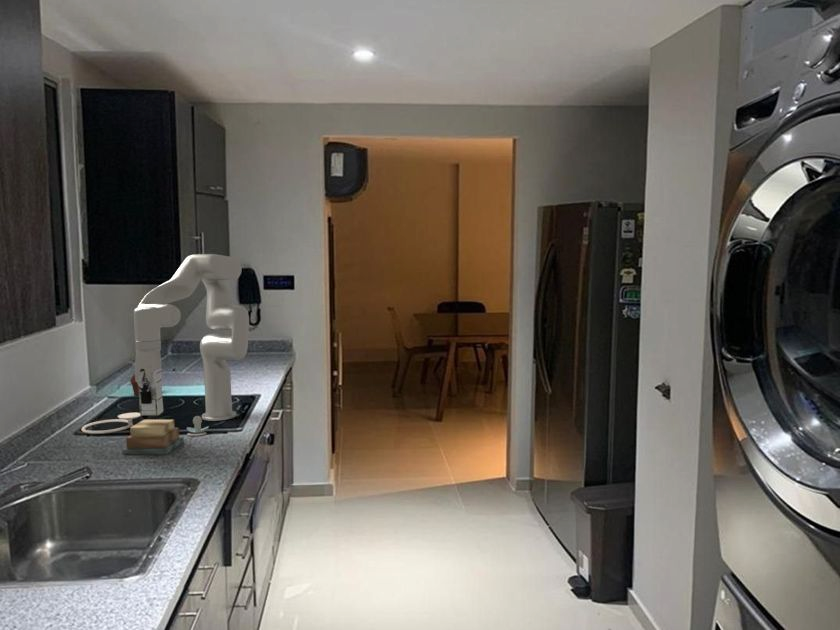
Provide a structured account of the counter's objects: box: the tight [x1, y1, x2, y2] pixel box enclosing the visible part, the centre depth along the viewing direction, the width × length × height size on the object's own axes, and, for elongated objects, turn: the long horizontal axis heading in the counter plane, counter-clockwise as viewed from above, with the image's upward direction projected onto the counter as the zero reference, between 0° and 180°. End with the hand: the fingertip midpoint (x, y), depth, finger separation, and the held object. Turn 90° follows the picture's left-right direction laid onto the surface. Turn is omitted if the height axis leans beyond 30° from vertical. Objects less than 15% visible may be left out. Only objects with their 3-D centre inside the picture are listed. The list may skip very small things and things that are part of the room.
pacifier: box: [186, 415, 210, 437], centre depth 243 cm, size 7×6×6 cm
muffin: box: [129, 374, 139, 396], centre depth 306 cm, size 12×11×10 cm
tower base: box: [121, 419, 185, 455], centre depth 228 cm, size 14×14×8 cm
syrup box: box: [138, 368, 164, 417], centre depth 226 cm, size 6×6×14 cm
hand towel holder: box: [81, 412, 141, 435], centre depth 254 cm, size 17×4×20 cm
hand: (151, 400), depth 227 cm, fingers closed on syrup box, 6 cm apart
